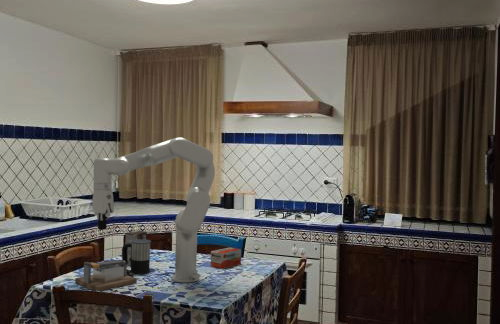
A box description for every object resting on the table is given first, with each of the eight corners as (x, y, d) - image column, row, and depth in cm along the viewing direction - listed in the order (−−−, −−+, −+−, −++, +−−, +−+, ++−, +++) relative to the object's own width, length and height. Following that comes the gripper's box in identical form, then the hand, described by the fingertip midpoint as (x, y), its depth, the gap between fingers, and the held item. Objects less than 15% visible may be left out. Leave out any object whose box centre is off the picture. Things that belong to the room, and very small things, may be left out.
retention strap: (120, 261, 222) (120, 259, 222) (127, 264, 218) (127, 261, 218) (86, 266, 210) (86, 263, 210) (92, 268, 206) (93, 265, 206)
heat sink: (130, 277, 217) (130, 258, 217) (92, 284, 203) (92, 265, 203) (117, 272, 224) (118, 254, 223) (79, 280, 210) (80, 260, 210)
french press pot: (139, 261, 255) (139, 230, 255) (146, 263, 251) (147, 231, 251) (124, 264, 248) (125, 232, 248) (132, 266, 244) (132, 234, 244)
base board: (136, 283, 215) (136, 278, 215) (97, 291, 201) (97, 287, 201) (113, 275, 227) (114, 270, 227) (75, 282, 213) (75, 278, 213)
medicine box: (229, 261, 260) (229, 246, 260) (241, 264, 255) (241, 249, 255) (209, 266, 248) (210, 251, 248) (222, 269, 243) (222, 253, 243)
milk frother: (151, 269, 239) (151, 239, 239) (148, 278, 224) (149, 245, 223) (120, 269, 238) (121, 239, 237) (116, 278, 222) (117, 245, 221)
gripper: (120, 187, 210) (119, 230, 210) (100, 185, 220) (100, 226, 220) (104, 188, 204) (104, 232, 205) (85, 186, 214) (85, 228, 215)
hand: (102, 229), depth 212 cm, fingers closed
